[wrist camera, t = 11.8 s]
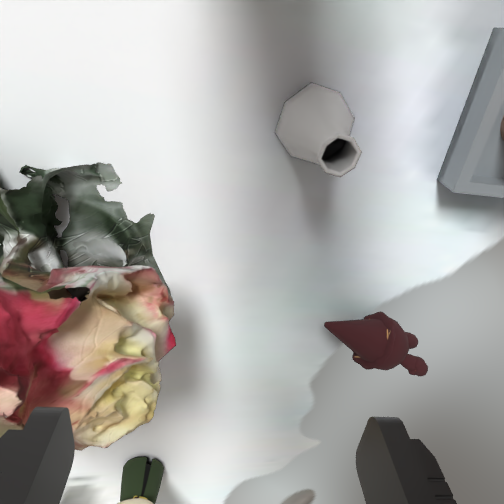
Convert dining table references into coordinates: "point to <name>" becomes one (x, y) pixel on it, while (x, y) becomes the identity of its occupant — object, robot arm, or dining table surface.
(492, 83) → the slate tray
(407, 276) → the dining table surface
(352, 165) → the flask
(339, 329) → the icecream
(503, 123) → the terracotta cup
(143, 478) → the character mug
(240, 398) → the dining table surface
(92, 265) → the rose bouquet
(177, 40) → the dining table surface
